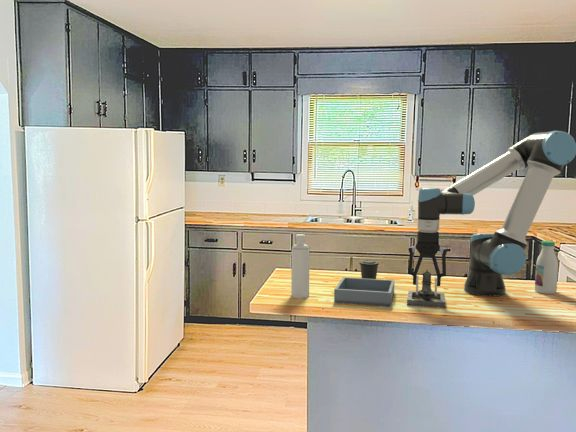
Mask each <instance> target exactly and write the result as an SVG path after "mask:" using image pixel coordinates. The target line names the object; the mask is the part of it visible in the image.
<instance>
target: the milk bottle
mask: <svg viewBox="0 0 576 432" xmlns="http://www.w3.org/2000/svg"><path fill="white" fill-rule="evenodd" d="M555 245H556V242H555V241H553V240H542V241H541V251H540V253H539V255H538V256H537V257H536V258H537V259H536V265H535V278H534V291H535V293H539V294H546V295H553V294H554V295H555V294H557V291H558V272H559V270H558V269H559V262H558V258H557V256H556V253H555Z"/></svg>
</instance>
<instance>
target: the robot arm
mask: <svg viewBox="0 0 576 432" xmlns="http://www.w3.org/2000/svg"><path fill="white" fill-rule="evenodd" d="M575 157H576V141H575V138H574V137H573V136H572V135H571V134H570V133H569V132H566V131H563V130H550V131H540V132H539V131H538V132H535V133H532V134H530V135H528V136H526V137H524V138H523V139H522V140H520V141H518V142H516V143H515V144H513V145H512V146H510V147H508V149H507V151H506V153H504V154H502V155H500V156H499V157H497V158H495V159H493V160H491V162H489V163H487V164H485V165H483V166H482V167H480V168H479V169H476V170H475V171H473V172H471V174H468V175H467V176H465V177H463V178H462V179H459V180H458V181H456V182H454V184H452V185H450V186H448V187H446V188H444V189H443V190H442V189H440V188H439V187H421V188H420V189H419V190H418V197H417V199H418V200H417V230H418V231H417V232H416V233H417V237H416V244H415V245H413V246H408V253H409V256H408V257H409V258H408V259H409V260H408V268H407V269H408V271H407V273H408V275H411V276H412V284H413V286H415V291H416V295H418V291H419V275H418V272H419V269H420V266H421V264H422V261H423V259H424V258H427V257H428V258H431V259H432V263H433V267H434V269H435V273H436V275H435V277H434V292H435V296H437V293H438V287H441V282H442V281H441V279H442V277H446V276H447V261H446V259H447V258H446V257H447V256H446V255H447V252H448V248H447V247H442V246H440V244H439V242H440V232H439V230H440V217H441V215H462V216H464V215H471V214H472V213H474V210H475V205H476V201H475V198H474V196H475V195H476V194H478V193H480V192H482V191H483V190H485V189H487V188H488V187H490V186H492V185H494V184H496V183H497V182H499V181H500V180H502V179H503V178H505V177H507V176H509V175H510V174H512V173H514V172H516V171H518V170H521V171H522V170H525V169H527V168H528V169H527V171H526V174H525V176H524V178H523V181H522V183H521V185H520V187H519V189H518V192H517V194H516V196H515V198H514V200H513V202H512V205H511V206H510V209H509V211H508V213H507V216H506V217H505V220H504V223H503V224H502V226H501V228H500V229H497V230H495V231H494V233H473V234H472V235H471V236H470V237H471V238H470V242H469V243H470V251H469V273H468V274H467V277H466V279H465V282H464V286H463V289H464V290H463V291H465V292H466V293H468V294H470V295H475V296H480V297H481V296H482V297H500V296H504V295H506V291H507V290H506V285H505V280H504V278H503V275H504V276H511V275H515V274H517V273H519V272H520V271H521V270H522V269H523V268H524V267H525V265H526V261H527V255H526V252H525V250H526V248H527V246H528V243H527V240H526V237H527V236H528V235H527V234H528V232H529V230H530V228H531V226H532V223H533V221H534V219H535V217H536V216H537V213H538V211H539V209H540V207H541V205H542V203H543V201H544V198H545V196H546V194H547V191H548V189H549V187H550V185H551V182H552V181H553V178H554V177H556V176H559V175H560V174H561V172H562V171H563V169H564V166H565V165H567V164H569V163H570V162H572V161H573V160H574V159H575ZM416 250H417V252H418V253H419V256H418V260H417V262H416V265H415V267H414V269H413V264H414V263H413V262H414V260H413V259H414V253H415V252H416ZM438 252H440V254H441V267H442V268H441V271H442V272H441V271H440V268H439V267H440V266H439V264H438V261H437V257H436V255H437V253H438Z"/></svg>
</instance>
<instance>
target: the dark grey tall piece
mask: <svg viewBox="0 0 576 432" xmlns="http://www.w3.org/2000/svg"><path fill="white" fill-rule="evenodd" d="M421 284H422V285H421V290H418V293H419V296H420V298H419V299H420V300H432V298H433V296H434V294H435V291H433V290H432V273H431V272H429V270H428V269H426V271H424V272H423V273H422V281H421Z"/></svg>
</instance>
